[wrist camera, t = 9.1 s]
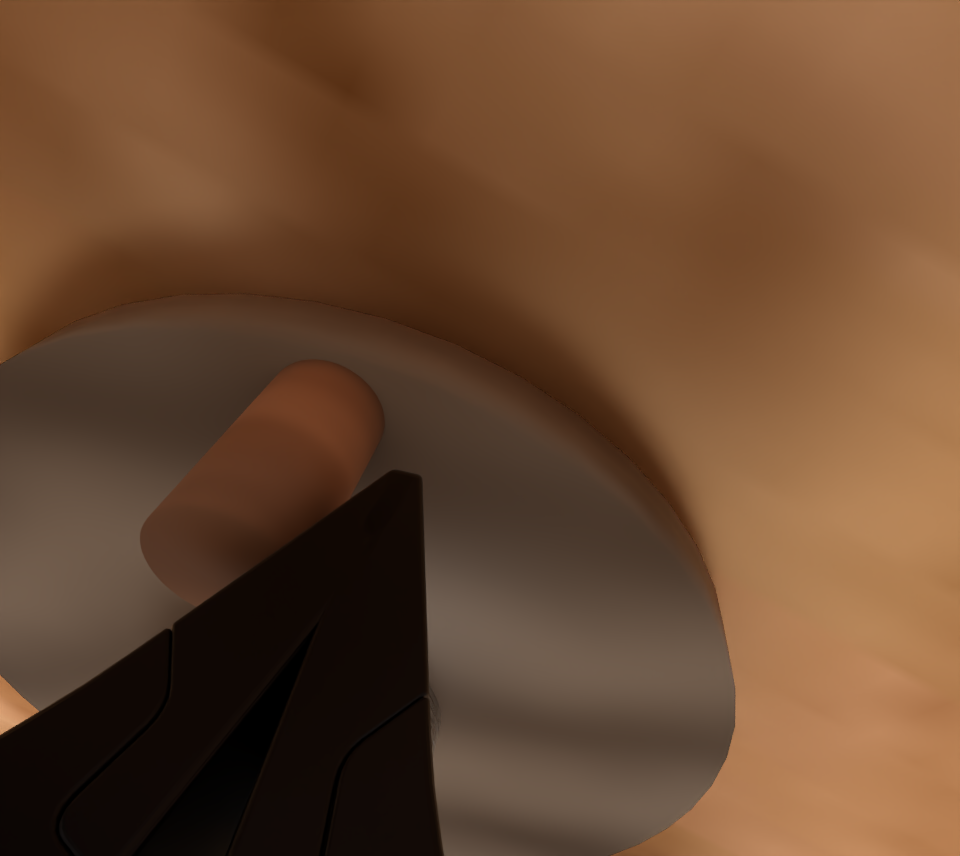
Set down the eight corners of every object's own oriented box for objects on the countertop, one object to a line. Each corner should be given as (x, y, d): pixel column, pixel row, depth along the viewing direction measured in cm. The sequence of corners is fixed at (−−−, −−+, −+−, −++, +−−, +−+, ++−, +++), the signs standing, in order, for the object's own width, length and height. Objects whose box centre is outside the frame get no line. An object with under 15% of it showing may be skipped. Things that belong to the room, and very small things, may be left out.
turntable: (704, 856, 20) (728, 1076, 16) (171, 792, 24) (83, 949, 20) (768, 241, 9) (903, 434, 5) (-212, 330, 13) (-567, 469, 9)
